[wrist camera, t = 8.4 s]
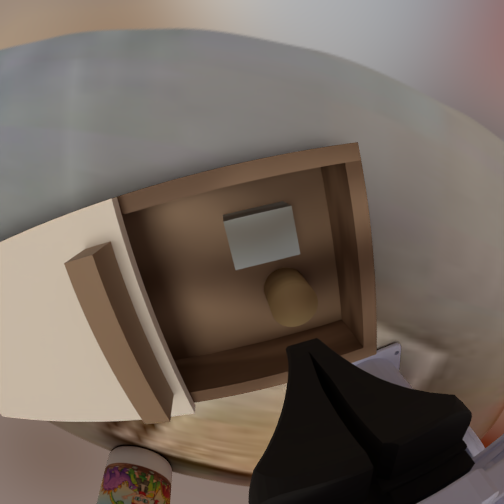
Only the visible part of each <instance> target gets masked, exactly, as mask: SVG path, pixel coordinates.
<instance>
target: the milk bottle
mask: <svg viewBox="0 0 504 504" xmlns="http://www.w3.org/2000/svg"><path fill="white" fill-rule="evenodd" d="M171 480H172V468H171V466H170V464H169V462H168V461H167V460H166V459H165V458H163V457H162V456H160V455H159V454H157V453H155V452H153V451H150V450H147V449H144V448H140V447H135V446H121V447H117V448H115V449H114V450H112V451H111V452H110V454H109V458H108V460H107V464H106V468H105V472H104V475H103V480H102V484H101V488H100V492H99V496H98V501H97V504H170V495H171V494H170V493H171Z"/></svg>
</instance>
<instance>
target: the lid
mask: <svg viewBox="0 0 504 504" xmlns="http://www.w3.org/2000/svg"><path fill="white" fill-rule="evenodd" d="M194 413H195V404H194V402H193V400H192V398H191V396H190V394H189V392H188V390H187V387H186V385H185V383H184V381H183V379H182V377H181V375H180V373H179V370H178V368H177V366H176V364H175V361H174V359H173V357H172V355H171V352H170V350H169V348H168V345H167V343H166V341H165V338H164V336H163V333H162V331H161V328H160V326H159V323H158V321H157V318H156V316H155V313H154V311H153V308H152V305H151V303H150V300H149V297H148V295H147V292H146V289H145V286H144V284H143V281H142V278H141V275H140V272H139V269H138V266H137V263H136V260H135V257H134V254H133V251H132V248H131V245H130V241H129V238H128V235H127V231H126V228H125V225H124V221H123V218H122V214H121V211H120V207H119V203H118V199H117V197H115V198H112V199H109V200H106V201H103V202H100V203H97V204H94V205H91V206H88V207H85V208H83V209H80V210H77V211H74V212H72V213H69V214H66V215H64V216H61V217H59V218H56V219H53V220H51V221H48V222H46V223H43V224H41V225H38V226H36V227H34V228H31V229H29V230H26V231H24V232H22V233H19V234H17V235H15V236H13V237H10V238H8V239H6V240H4V241H2V242H0V414H1V415H2V416H4V417H13V418H22V419H32V420H46V421H70V422H101V421H126V420H141V419H142V420H143V422H144V423H145V424H151V423H162V422H170V418H171V416H180V415H187V414H194Z"/></svg>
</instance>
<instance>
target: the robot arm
mask: <svg viewBox="0 0 504 504" xmlns="http://www.w3.org/2000/svg"><path fill="white" fill-rule="evenodd" d="M286 353H287V358H288V383H287V389H286V395H285V400H284V405H283V408H282V412H281V415H280V418H279V421H278V424H277V427H276V429H275V432H274V434H273V436H272V438H271V440H270V443H269V445H268V447H267V449H266V451H265V452H264V454H263V456H262V457H261V459H260V461H259V462H258V464H257V465H256V467H255V469H254V470H253V475H252V479H251V483H250V489H249V504H504V434H503V435H502V436H501V437H500V438H498V439H497V440H496V441H495V442H493V443H492V444H491V445H489V446H488V447H487V448H484V446H483V444H482V443H481V441H480V439H479V438H478V437H477V435H476V434H475V433H474V431H473V430H472V429H471V428H470V426H469V424H470V421H471V418H472V415H471V412H470V410H469V409H468V408H467V407H466V406H465V405H464V404H463V402H462V401H461V400H459V399H458V398H457V397H456V396H455V395H448V394H438V393H429V392H424V391H419V390H414V389H413V388H412V387H411V385H410V384H409V383H408V382H407V381H406V379H405V378H404V377H403V376H402V374H401V373H400V372H399V366H400V355H401V345H400V344H399V343H394V344H392V345H389V346H387V347H384V348H382V349H379V350H376V354H375V355H373V356H370V357H367V358H365V359H362V360H359V361H356V362H353V363H351V362H349V361H348V360H346V359H345V358H343V357H342V356H340V355H339V354H337V353H336V352H335V351H333V350H332V349H331V348H329V347H328V346H327V345H326V344H324V343H323V342H322V341H321V340H320V339H318V338H315V339H311V340H308V341H304V342H301V343H297V344H294V345H290V346H288V347H287V348H286Z"/></svg>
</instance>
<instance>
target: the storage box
mask: <svg viewBox="0 0 504 504" xmlns="http://www.w3.org/2000/svg"><path fill="white" fill-rule="evenodd" d="M117 199H118V203H119V207H120V211H121V214H122V218H123V221H124V225H125V228H126V231H127V235H128V238H129V241H130V245H131V248H132V251H133V254H134V257H135V260H136V263H137V266H138V269H139V272H140V275H141V278H142V281H143V284H144V286H145V289H146V292H147V295H148V297H149V300H150V303H151V305H152V308H153V311H154V313H155V316H156V318H157V321H158V323H159V326H160V328H161V331H162V333H163V336H164V338H165V341H166V343H167V345H168V348H169V350H170V352H171V355H172V357H173V359H174V361H175V364H176V366H177V368H178V370H179V373H180V375H181V377H182V379H183V381H184V383H185V385H186V387H187V390H188V392H189V394H190V396H191V398H192V400H193V402H201V401H207V400H212V399H218V398H223V397H228V396H233V395H238V394H243V393H247V392H252V391H256V390H261V389H265V388H269V387H273V386H277V385H281V384H285V383H288V358H287V353H286V348H287V347H288V346H290V345H294V344H297V343H301V342H304V341H308V340H311V339H315V338H318V339H320V340H321V341H322V342H323V343H324V344H326V345H327V346H328V347H329V348H331V349H332V350H333V351H335V352H336V353H337V354H339V355H340V356H342V357H343V358H345V359H346V360H348V361H349V362H351V363H353V362H356V361H359V360H362V359H365V358H367V357H370V356H373V355H375V354H376V349H377V323H376V290H375V272H374V258H373V246H372V236H371V226H370V217H369V209H368V202H367V194H366V187H365V181H364V175H363V169H362V163H361V157H360V152H359V146H358V142H356V143H349V144H342V145H335V146H328V147H322V148H316V149H310V150H304V151H298V152H293V153H287V154H282V155H277V156H272V157H267V158H262V159H257V160H252V161H247V162H243V163H238V164H234V165H230V166H225V167H221V168H217V169H213V170H209V171H205V172H201V173H197V174H193V175H189V176H186V177H182V178H178V179H174V180H171V181H167V182H164V183H160V184H157V185H153V186H150V187H147V188H143V189H140V190H137V191H134V192H130V193H127V194H124V195H121V196H118V197H117Z"/></svg>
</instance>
